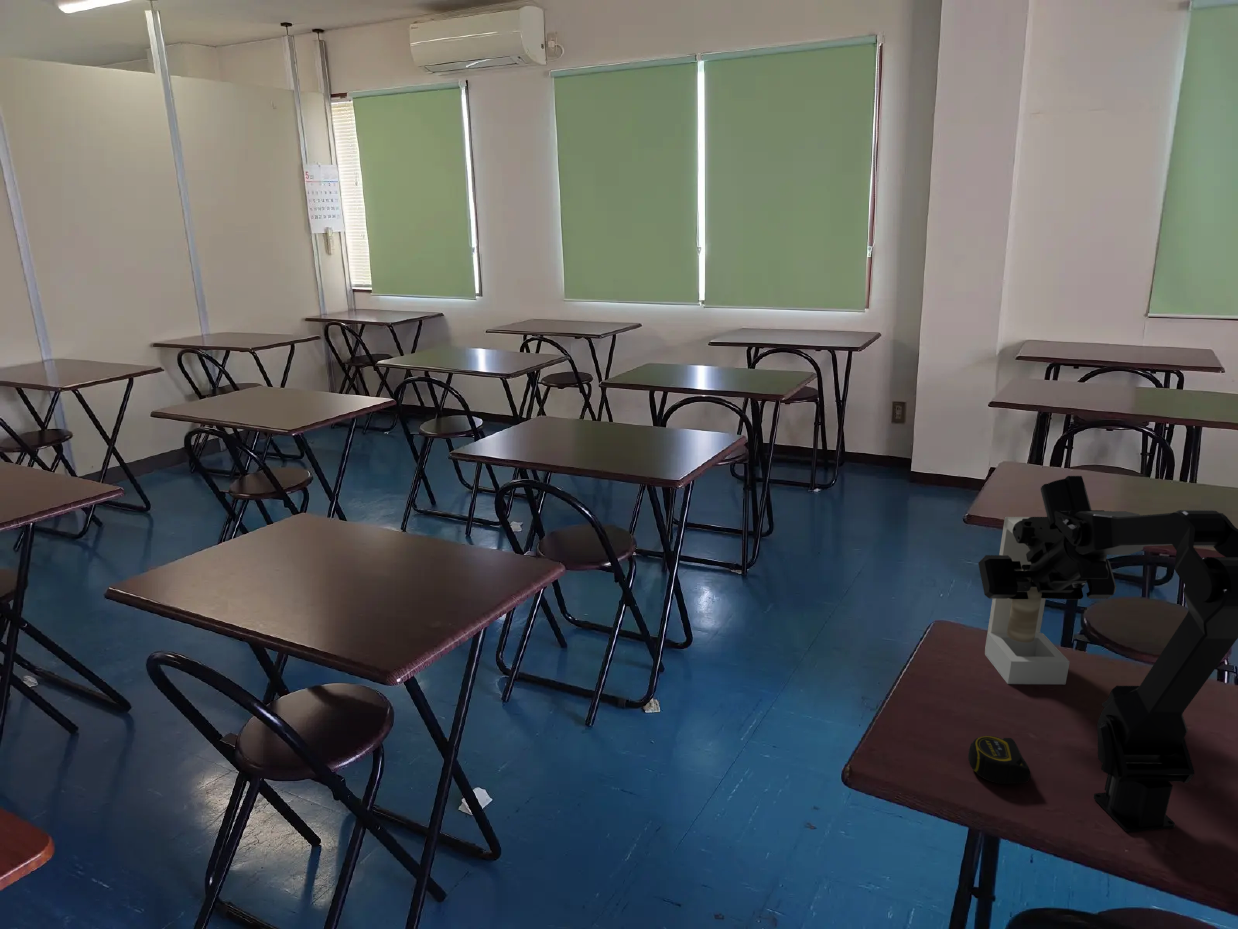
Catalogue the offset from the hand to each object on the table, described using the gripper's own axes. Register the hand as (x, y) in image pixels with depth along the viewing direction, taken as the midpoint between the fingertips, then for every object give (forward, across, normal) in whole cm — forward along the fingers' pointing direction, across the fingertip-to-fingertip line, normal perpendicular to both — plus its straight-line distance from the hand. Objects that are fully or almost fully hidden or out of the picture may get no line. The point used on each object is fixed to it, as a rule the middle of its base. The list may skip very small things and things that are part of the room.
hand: (1022, 594), depth 135 cm
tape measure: (-10, +13, +28) cm, 32 cm away
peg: (+4, 0, +6) cm, 7 cm away
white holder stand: (+8, -2, +10) cm, 13 cm away
